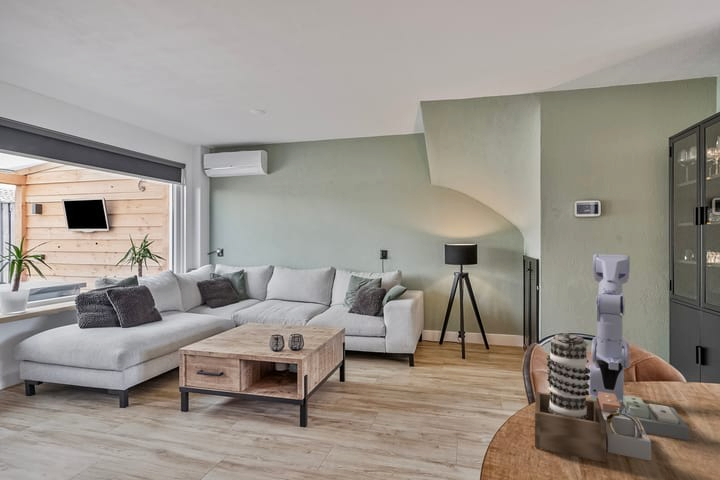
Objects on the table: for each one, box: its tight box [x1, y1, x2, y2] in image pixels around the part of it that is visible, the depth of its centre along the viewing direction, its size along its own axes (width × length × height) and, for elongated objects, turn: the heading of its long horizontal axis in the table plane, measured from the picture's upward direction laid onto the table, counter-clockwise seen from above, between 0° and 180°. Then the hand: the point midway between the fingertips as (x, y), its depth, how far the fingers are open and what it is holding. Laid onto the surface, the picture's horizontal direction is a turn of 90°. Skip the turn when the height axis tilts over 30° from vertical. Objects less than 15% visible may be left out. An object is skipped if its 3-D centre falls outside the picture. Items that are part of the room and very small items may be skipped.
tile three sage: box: [623, 394, 649, 419], centre depth 104 cm, size 4×9×3 cm, turn 155°
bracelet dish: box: [603, 414, 652, 462], centre depth 93 cm, size 8×12×4 cm, turn 155°
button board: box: [590, 395, 690, 441], centre depth 104 cm, size 19×13×3 cm, turn 65°
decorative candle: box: [546, 332, 590, 420], centre depth 94 cm, size 9×9×25 cm
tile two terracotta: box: [598, 392, 621, 413], centre depth 107 cm, size 4×9×3 cm, turn 155°
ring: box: [607, 408, 642, 438], centre depth 93 cm, size 7×3×8 cm, turn 31°
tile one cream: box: [649, 403, 679, 424], centre depth 102 cm, size 4×9×3 cm, turn 155°
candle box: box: [534, 391, 607, 463], centre depth 94 cm, size 14×14×8 cm
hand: (609, 388), depth 107 cm, fingers closed
